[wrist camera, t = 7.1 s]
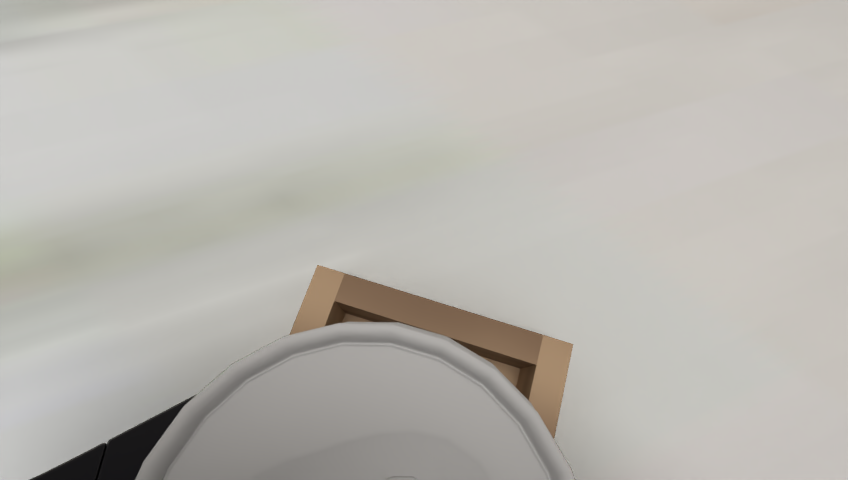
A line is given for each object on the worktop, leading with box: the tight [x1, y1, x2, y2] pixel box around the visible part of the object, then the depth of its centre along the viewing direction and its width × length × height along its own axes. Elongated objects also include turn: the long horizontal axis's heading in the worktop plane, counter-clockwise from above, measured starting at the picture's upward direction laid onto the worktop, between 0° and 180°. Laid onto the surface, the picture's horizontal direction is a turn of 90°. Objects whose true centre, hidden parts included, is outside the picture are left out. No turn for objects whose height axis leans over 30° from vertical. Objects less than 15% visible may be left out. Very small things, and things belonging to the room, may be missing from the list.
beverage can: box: [135, 322, 575, 480], centre depth 10 cm, size 5×5×12 cm
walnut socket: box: [290, 265, 573, 439], centre depth 15 cm, size 9×9×3 cm
